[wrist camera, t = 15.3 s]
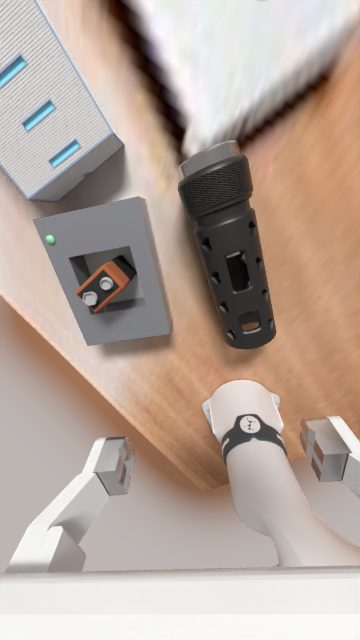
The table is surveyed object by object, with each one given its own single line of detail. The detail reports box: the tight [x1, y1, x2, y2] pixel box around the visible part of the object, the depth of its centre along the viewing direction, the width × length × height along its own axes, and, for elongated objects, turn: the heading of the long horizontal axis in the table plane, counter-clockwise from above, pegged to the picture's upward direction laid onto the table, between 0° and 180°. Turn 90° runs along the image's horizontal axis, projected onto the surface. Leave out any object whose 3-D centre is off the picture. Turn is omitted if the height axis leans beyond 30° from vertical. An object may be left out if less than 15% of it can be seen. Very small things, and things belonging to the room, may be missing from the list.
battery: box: [75, 255, 137, 312], centre depth 35 cm, size 4×7×10 cm, turn 130°
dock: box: [33, 197, 173, 346], centre depth 38 cm, size 22×16×6 cm
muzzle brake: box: [178, 140, 276, 349], centre depth 34 cm, size 10×28×10 cm, turn 19°
